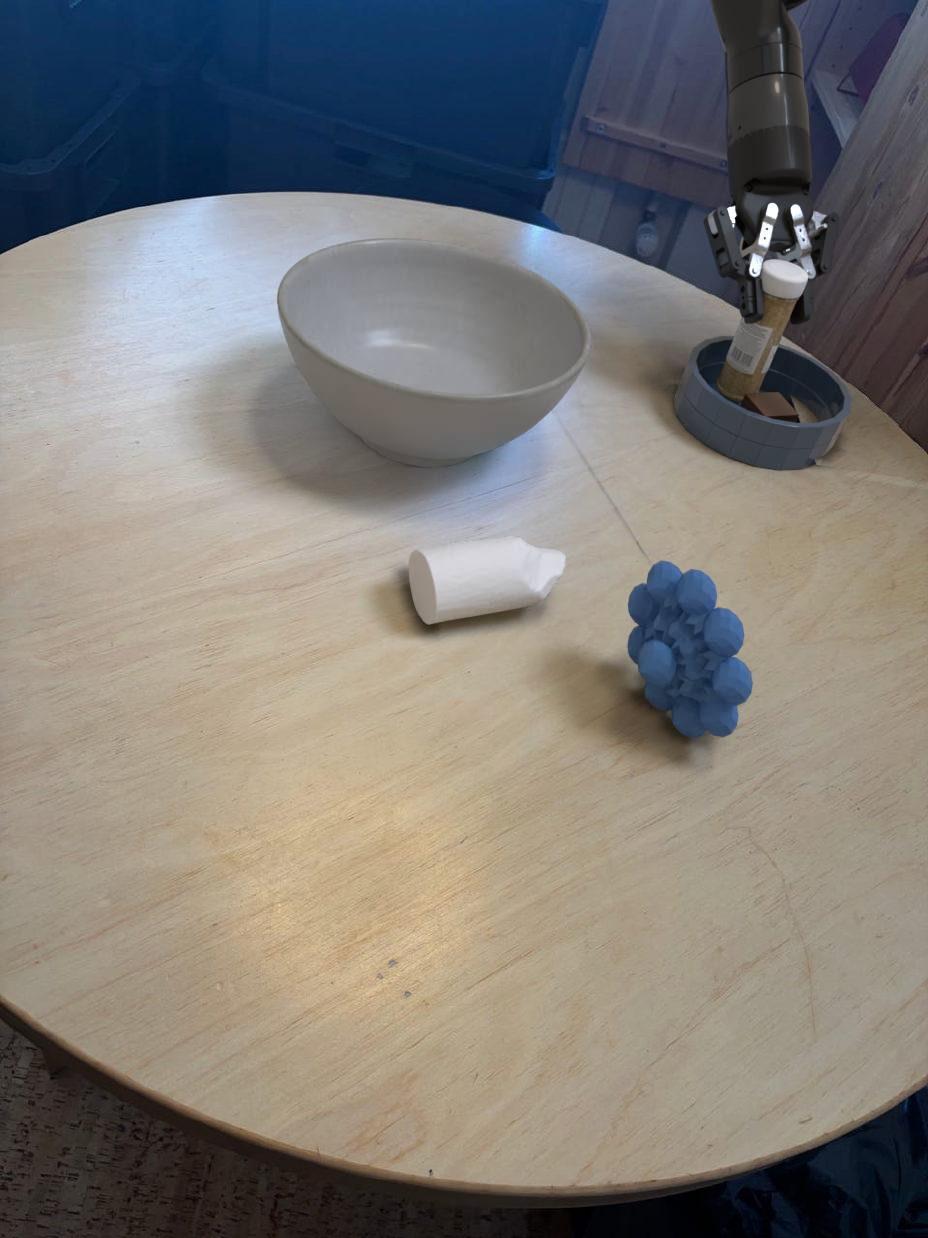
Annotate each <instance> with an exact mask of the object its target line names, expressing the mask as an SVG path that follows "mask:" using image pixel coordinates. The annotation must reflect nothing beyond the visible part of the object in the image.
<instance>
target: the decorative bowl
mask: <svg viewBox="0 0 928 1238" xmlns="http://www.w3.org/2000/svg"><path fill="white" fill-rule="evenodd" d="M276 305H277V312H278V318H279V322H280V327H281V329H282V332H283V335H284V338H285V341H286V344H287V347H288V350H289V353H290V354H291V356H292V359H293V361H294V363H295V365H296V367H297V369H298V371H299V373H300V374H301V376H302V378H303V379H304V381H305V383H306V384H307V386H308V388H309V389H310V391H311V392H312V393H313V395H314V396H315V397H316V399H317V400H318V401H319V403H320V404H321V405H322V406H323V407H324V408H325V409H326V410H327V412H329V413H330V414H331V415H332V417H334V419H336V420H337V421H338V422H339V423H340V424H342V425H343V426H344V427H345V428H347V429H348V430H350V431H351V432H352V433H353V434H355V435H356V436H358V437H359V438H360V439H361V440H362V441H363V442H364V443H365V444H366V445H367V446H368V447H369V448H370V449H372V450H373V451H375V452H376V453H378V454H380V455H381V456H383V457H385V458H387V459H390V460H392V461H396V462H399V463H402V464H406V465H409V466H410V465H411V466H414V467H415V466H417V467H425V468H426V467H427V468H437V467H438V468H441V467H446V466H454V465H457V464H460V463H464V462H465V461H468V460H469V459H471V458H473V457H474V456H475V455H481V454H485V453H487V452H490V451H493V450H496V449H499V448H500V447H503V446H505V445H506V444H508V443H510V442H512V441H514V440H516V439H517V438H519V437H521V436H522V435H524V434H525V433H527V432H528V431H530V430H531V429H532V428H534V427H535V426H536V425H538V424H539V423H540V422H541V421H542V420H543V419H544V418H545V417H546V416H548V415H549V413H551V412H552V410H553V409H555V407H556V406H557V405H559V403H560V402H561V401H562V400H563V398H564V397H565V395H566V394H567V393H568V392H569V390H570V389H571V388H572V387H573V385H574V384H575V382H576V381H577V380H578V378H579V376H580V375H581V372H582V371H583V369H584V367H585V366H586V363H587V362H588V359H589V357H590V354H591V350H592V333H591V329H590V326H589V323H588V321H587V319H586V317H585V315H584V314H583V312H582V311H581V309H580V308H579V307H578V305H577V304H576V303H575V302H574V301H573V299H571V298H570V297H569V296H568V295H567V294H566V292H564V291H563V290H562V289H560V288H559V287H558V286H556V285H555V284H553V283H552V282H551V281H549V280H547V279H546V278H544V277H543V276H541V275H540V274H538V273H536V272H534V271H532V270H530V269H529V268H526V267H524V266H522V265H520V264H518V263H516V262H513V261H511V260H509V259H506V258H503V257H501V256H498V255H495V254H492V253H490V252H486V251H482V250H479V249H476V248H473V247H472V248H471V247H468V246H463V245H458V244H455V243H448V242H443V241H438V240H437V241H436V240H430V239H420V238H403V237H385V238H367V239H359V240H358V239H357V240H351V241H346V242H342V243H337V244H333V245H330V246H327V247H324V248H321V249H319V250H317V251H314V252H312V253H309V254H308V255H306V256H305V257H303V258H301V259H300V260H299V261H297V262H296V263H295V264H294V265H292V266H291V267H290V268H289V269H288V271H287V272H286V273H285V274H284V275H283V277H282V279H281V281H280V283H279V286H278V289H277V294H276Z"/></svg>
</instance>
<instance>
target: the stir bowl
mask: <svg viewBox="0 0 928 1238" xmlns="http://www.w3.org/2000/svg"><path fill="white" fill-rule="evenodd" d="M734 336H735V335H720V336H715V337H711V338H708V339H707V338H706V339H704V340H703V341H701V342H700V343H698V344H696V345H695V346H693V347H692V349H691V352H690V354H689V357H688V359H687V362H686V365H685V367H684V370H683V373H682V376H681V378H680V381H679V384H678V387H677V389H676V392H675V395H674V397H673V401H672V402H673V407H674V412H675V415H676V417H677V419H678V421H680V423H681V424H682V425H683V427H684V428H685V429H686V430H687V432H689V433H690V434H691V435H692V436H694V437H695V438H696V439H697V440H698V441H699V442H700V443H702V444H703V445H705V446H706V447H708V448H710V449H712V450H714V451H716V452H717V453H720V454H722V455H723V456H725V457H727V458H730V459H733V460H735V461H739V462H741V463H745V464H747V465H750V466H753V467H757V468H763V469H770V470H777V471H785V470H787V471H788V470H804V469H807V468H810V467H812V466H815V465H817V462H816V460H817V459H820V458H823V457H824V456H825V455H826V454H828V452H829V451H830V450H831V449H832V448H833V447H834V445H835V443H836V441H837V439H838V438H839V435H840V433H841V431H842V430H843V428H844V426H845V424H846V422H847V420H848V418H849V416H850V414H851V412H852V405H853V398H852V396H851V394H850V392H849V389H848V387H847V385H846V384H845V382H843V381H842V380H841V379H840V378H839V376H837V374H836V373H835V372H834V371H832V370H831V369H830V368H828V367H827V366H825V365H824V364H823V363H821V362H820V361H818V360H817V359H815V358H813V357H812V356H809V355H807V354H805V353H803V352H801V351H799V350H797V349H795V348H793V347H791V346H788V345H784V344H781V343H779V345H778V348H777V350H776V352H775V355H774V357H773V360H772V362H771V364H770V367H769V369H768V371H767V372H766V374H765V377H764V379H763V381H762V384H761V386H760V389H759V393H767V392H779V393H780V394H781V395H782V396H783V397H784V398H785V400H786V401H787V402H788V403H789V404H790V405H791V406H792V407H793V408H794V409H795V410H796V406H795V404H794V401H793V398H795V399H796V400H797V401H799V402H800V403H801V404H803V405H804V406H805V407H807V408H808V409H809V411H811V413H812V414H813V415H814V416H815V417H816V418H817V420H818V422H801V420H800V417H799V416H798V418H797V420H796V422H788V421H782V420H776V419H772V418H769V417H766V416H763V415H760V414H757V413H754V412H751V411H748V410H746V409H744V408H742V407H740V405H741V402H737V401H734V400H731V399H729V398H727V397H725V396H723V395H722V394H721V393H720V392H719V391H718V390H717V388H716V381H717V379H718V378H719V376H720V374H721V371H722V369H723V366H724V364H725V361H726V357H727V354H728V351H729V349H730V346H731V344H732V341H733V339H734ZM792 397H793V398H792ZM796 411H797V410H796Z"/></svg>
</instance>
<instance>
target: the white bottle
mask: <svg viewBox="0 0 928 1238" xmlns="http://www.w3.org/2000/svg"><path fill="white" fill-rule="evenodd" d="M566 561H567V556H566V555H565V553H563V552H562V551H560V550H557V549H552V548H546V547H542V548H541V547H537V546H534V545H532V544H529V543H528V542H526V541H525V540H524V539H523V538H521V537H520V536H517V535H507V536H506V535H505V536H499V537H492V538H484V539H474V540H463V541H456V542H453V543H449V544H444V545H439V546H438V545H437V546H433V547H426V548H420V549H414V550H413V551H412V552H411V553H410V556H409V559H408V578H409V580H408V581H409V586H410V591H411V596H412V602H413V605H414V608H415V610H416V613H417V614H418V616H419V617H420V619H421V620H422V621H423V622H424V623H425V625H433V624H439V623H442V622H443V623H444V622H449V621H453V620H458V619H459V620H460V619H465V618H472V617H477V616H483V615H488V614H494V613H499V612H506V611H511V610H518V609H521V608H525V607H528V606H531V605H534V604H536V603H539V602H541V601H543V600H545V599H546V598H547V596H548V595H549V594H550V592H551V591H552V589H553V587H554V586H555V585H556V584H557V582H558V581H559V580H560V579H561V578H562V576H563V574H564V570H565V569H566V568H567V565H566Z"/></svg>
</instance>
